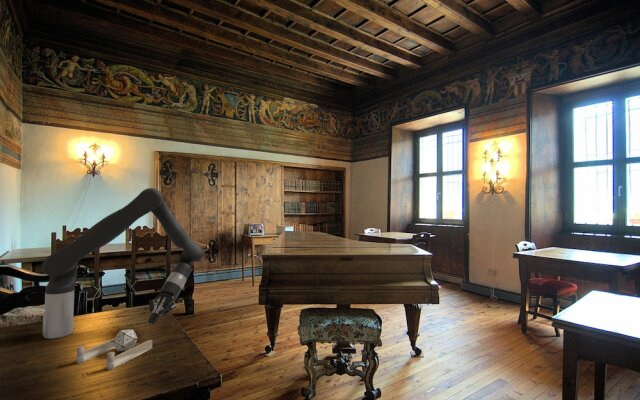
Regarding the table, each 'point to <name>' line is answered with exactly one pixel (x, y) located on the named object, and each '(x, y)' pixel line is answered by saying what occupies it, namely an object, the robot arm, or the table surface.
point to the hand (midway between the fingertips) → (150, 323)
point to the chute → (112, 353)
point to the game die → (125, 340)
